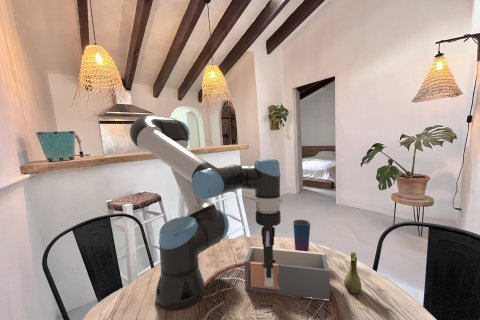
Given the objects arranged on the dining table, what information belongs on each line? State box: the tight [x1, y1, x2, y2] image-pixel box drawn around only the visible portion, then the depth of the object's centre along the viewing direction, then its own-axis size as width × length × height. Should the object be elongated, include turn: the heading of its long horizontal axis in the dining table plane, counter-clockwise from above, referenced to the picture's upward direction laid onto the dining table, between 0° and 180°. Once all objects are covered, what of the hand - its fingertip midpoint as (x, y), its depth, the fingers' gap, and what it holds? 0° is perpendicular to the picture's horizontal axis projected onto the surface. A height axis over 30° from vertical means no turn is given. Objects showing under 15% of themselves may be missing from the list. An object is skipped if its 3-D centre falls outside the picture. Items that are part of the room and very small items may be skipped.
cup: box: [292, 219, 311, 252], centre depth 89 cm, size 7×7×15 cm
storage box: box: [244, 246, 331, 299], centre depth 72 cm, size 26×11×10 cm, turn 76°
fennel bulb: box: [343, 251, 362, 294], centre depth 68 cm, size 6×5×12 cm
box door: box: [250, 262, 278, 290], centre depth 69 cm, size 9×1×8 cm, turn 79°
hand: (269, 285), depth 66 cm, fingers closed
